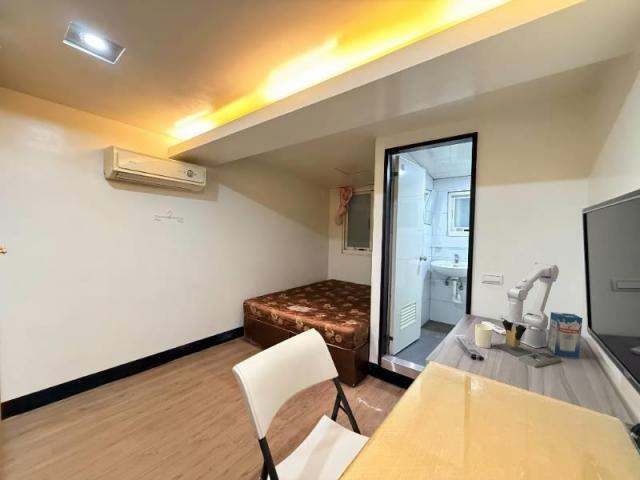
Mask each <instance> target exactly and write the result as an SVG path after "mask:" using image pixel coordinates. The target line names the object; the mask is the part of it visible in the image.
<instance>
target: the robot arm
mask: <svg viewBox="0 0 640 480" xmlns="http://www.w3.org/2000/svg"><path fill="white" fill-rule="evenodd" d="M531 266H532V267H531V271H530V273H529V274H528V275H527V276H526V278H521V280H520V281H518V283H517V284H516V285H514V287H510V288H509V289H507V292H506V294H507V295H506V296H507V300H508V312H507V313H508V314H507V315H508V316H507V315H503V314H501V315H500V314H499V320H503V321H502V322H501V323H502V325H503V327H504V330H505V332H506V331H507V330H508V329H513V325H515V330H516V340H521V342H520V343H522V344H525V345H527V346H529V347H532V348H534V349H539V348H545V347H548V344H546V341H547V332H546V329H548V325H549V316H548V315H547V314H546V313H545V312H544V311H545V308H546V304H547V302H548V299H549V295H550V293H551V288H552V287H553V283H555V282H557V279H558V276H559V272H560V270H559V267H558V265H556V264H551V263H550V264H548V263H541V262H534V263H533V264H532V265H531ZM538 280H539V281H540V282H539V284H538V288H537V290H536V293H535V297H534V300H533V304H532V307H531V308H530V309H526V310H524V301H525V300H527V297H528V295H529V292H530V291H531V290H532V289H533V288H534V283H535V282H536V281H538ZM523 311H525V312H524V314H523ZM523 335H524V339H523V340H522V337H523Z"/></svg>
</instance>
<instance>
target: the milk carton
mask: <svg viewBox="0 0 640 480" xmlns="http://www.w3.org/2000/svg"><path fill="white" fill-rule="evenodd" d="M582 326H583V317H581V316H579V315H576V314H574V313H568V312H567V313H565V312H564V313H563V312H554V311H551V312H550V319H549V329H548V330H549V331H548V342H547V351H548V353H550V354H553V355H555V356H558V357H560V358H561V357H562V358H571V359H578V360H579V358H580V349H581V338H582V329H583V327H582Z"/></svg>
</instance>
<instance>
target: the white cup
mask: <svg viewBox="0 0 640 480" xmlns="http://www.w3.org/2000/svg"><path fill="white" fill-rule="evenodd" d="M493 331H494V328H493V327H492V326H490V325H487V324H482V323H477V324H475V326H474V338H475V340H474V341H475V342H474V343H475V345H476V346H477V347H478V348H479V347H480V348H482V349H483V348H484V349H489V348H491V342H492V339H493Z"/></svg>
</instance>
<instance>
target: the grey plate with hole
mask: <svg viewBox="0 0 640 480" xmlns="http://www.w3.org/2000/svg"><path fill="white" fill-rule="evenodd" d="M518 360H519V361H520V362H523V363H525V364H527V365H529V366H531V367H533V368H539V367H542V366H547V365H551V364H556V363H560V362H561V360H562V358H561V356H555V355H553V354H552V353H551V352H549V351H548V352H547V351H545V350H542V351H538V352H533V353H532V354H527V355H522V356H518Z"/></svg>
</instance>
